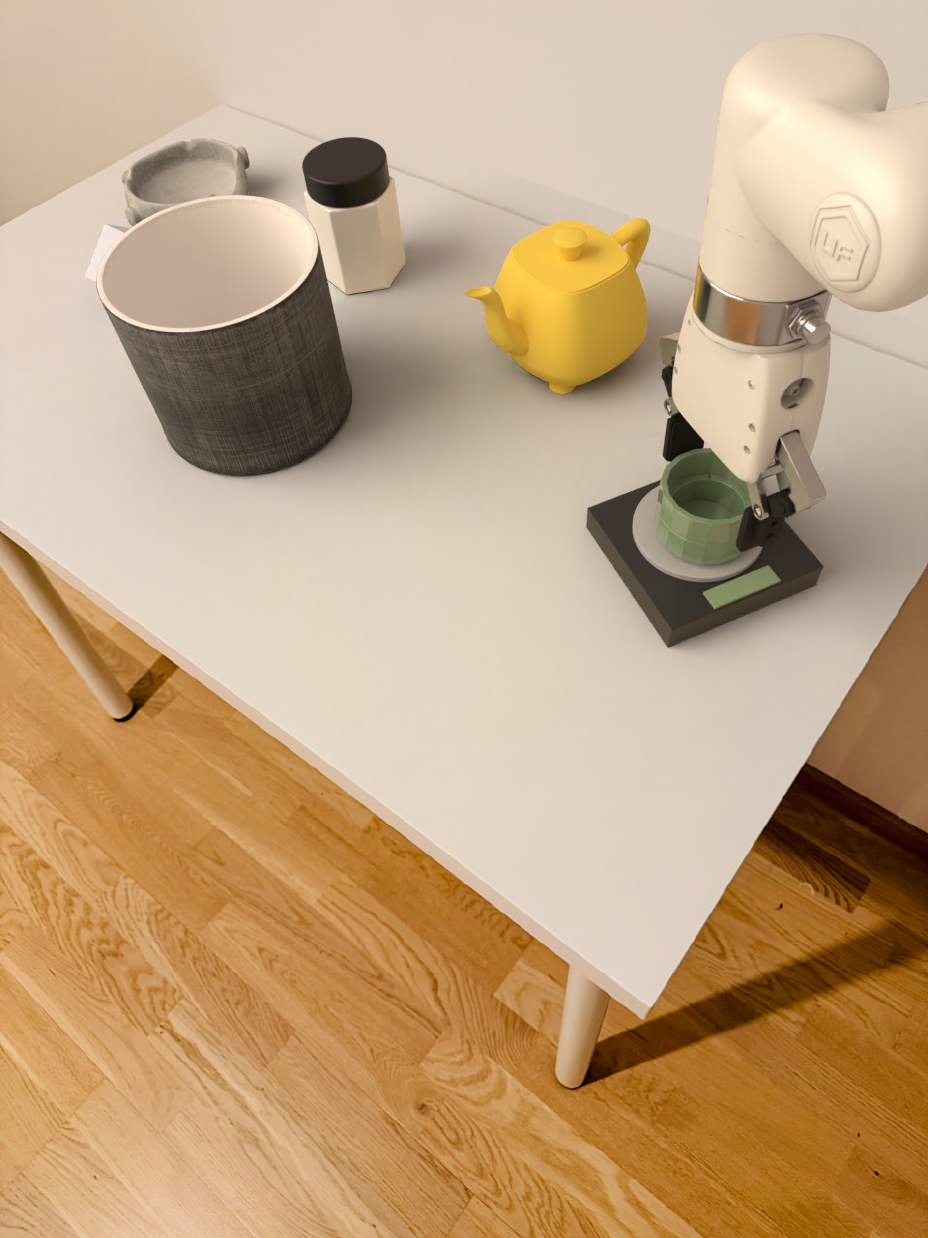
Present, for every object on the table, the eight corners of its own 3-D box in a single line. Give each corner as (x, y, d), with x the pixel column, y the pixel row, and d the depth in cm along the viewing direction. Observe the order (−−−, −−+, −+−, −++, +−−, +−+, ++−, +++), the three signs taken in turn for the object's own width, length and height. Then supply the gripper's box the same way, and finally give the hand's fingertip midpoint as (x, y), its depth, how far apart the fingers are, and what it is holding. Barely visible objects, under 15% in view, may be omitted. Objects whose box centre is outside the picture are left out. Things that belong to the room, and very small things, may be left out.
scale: (816, 585, 69) (826, 561, 67) (667, 647, 67) (672, 625, 65) (723, 473, 76) (729, 448, 74) (585, 526, 74) (587, 502, 72)
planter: (386, 424, 82) (357, 273, 69) (205, 507, 78) (138, 364, 65) (304, 321, 91) (265, 170, 78) (139, 391, 87) (68, 244, 74)
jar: (401, 240, 98) (385, 129, 88) (410, 286, 93) (395, 174, 83) (319, 253, 98) (294, 143, 88) (325, 299, 93) (299, 189, 83)
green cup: (770, 547, 68) (786, 501, 64) (685, 582, 67) (695, 537, 62) (717, 482, 72) (729, 435, 68) (636, 514, 71) (642, 468, 66)
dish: (258, 172, 108) (247, 130, 103) (249, 242, 100) (236, 199, 96) (138, 184, 108) (122, 143, 104) (120, 254, 100) (102, 212, 96)
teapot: (434, 367, 86) (419, 251, 76) (594, 280, 92) (600, 161, 82) (521, 445, 80) (518, 330, 69) (687, 346, 85) (707, 226, 75)
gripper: (919, 356, 47) (836, 561, 61) (734, 198, 57) (699, 407, 71) (796, 404, 46) (740, 601, 60) (628, 234, 55) (613, 439, 69)
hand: (718, 496), depth 65 cm, fingers open, 9 cm apart
